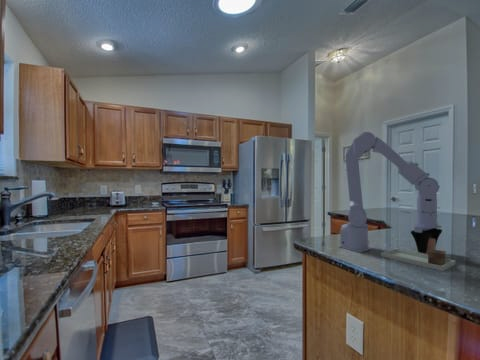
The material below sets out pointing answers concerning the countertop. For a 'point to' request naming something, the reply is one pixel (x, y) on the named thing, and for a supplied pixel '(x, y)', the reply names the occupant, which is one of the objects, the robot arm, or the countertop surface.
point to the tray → (415, 258)
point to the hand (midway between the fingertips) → (426, 250)
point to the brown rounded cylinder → (430, 245)
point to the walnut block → (436, 257)
